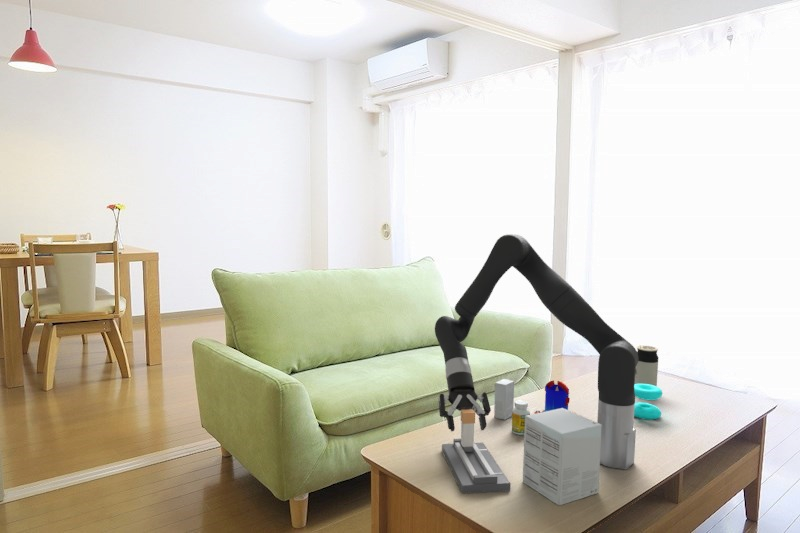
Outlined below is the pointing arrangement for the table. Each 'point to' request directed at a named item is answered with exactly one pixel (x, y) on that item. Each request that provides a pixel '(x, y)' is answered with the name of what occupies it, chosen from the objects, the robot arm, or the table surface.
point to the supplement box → (562, 455)
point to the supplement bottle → (519, 417)
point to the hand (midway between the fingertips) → (468, 429)
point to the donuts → (647, 409)
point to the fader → (467, 429)
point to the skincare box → (504, 399)
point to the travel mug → (646, 365)
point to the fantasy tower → (556, 396)
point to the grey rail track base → (475, 468)
